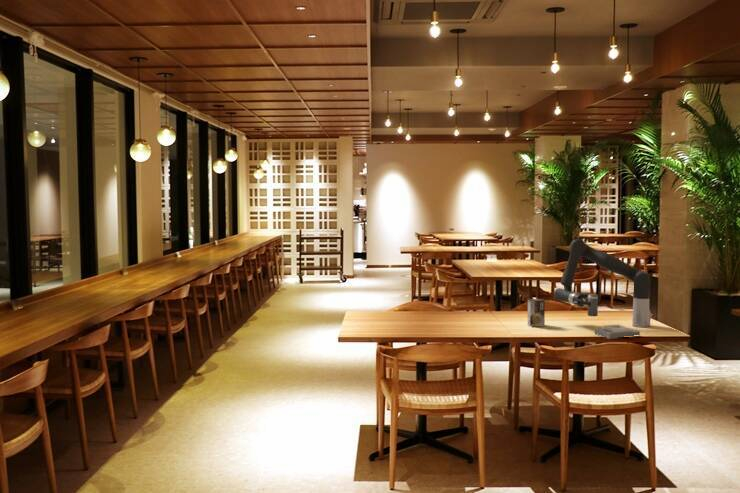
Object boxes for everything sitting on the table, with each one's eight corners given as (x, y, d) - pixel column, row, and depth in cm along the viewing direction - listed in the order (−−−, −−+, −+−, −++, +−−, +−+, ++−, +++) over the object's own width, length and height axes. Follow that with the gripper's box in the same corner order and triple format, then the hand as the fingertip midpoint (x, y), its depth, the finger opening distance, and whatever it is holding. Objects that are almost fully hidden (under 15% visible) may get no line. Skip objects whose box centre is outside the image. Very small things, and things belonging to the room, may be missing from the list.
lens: (593, 314, 403) (594, 293, 401) (599, 315, 397) (600, 295, 396) (585, 314, 401) (586, 294, 400) (591, 316, 396) (591, 295, 395)
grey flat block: (623, 331, 405) (624, 323, 405) (639, 336, 392) (639, 327, 391) (594, 333, 400) (594, 325, 399) (609, 338, 386) (609, 330, 386)
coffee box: (541, 324, 427) (542, 298, 425) (544, 326, 420) (545, 300, 419) (527, 324, 427) (527, 298, 425) (529, 326, 420) (530, 300, 419)
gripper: (567, 293, 411) (583, 298, 395) (588, 292, 415) (605, 296, 399) (567, 306, 411) (583, 311, 395) (588, 304, 416) (605, 309, 399)
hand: (594, 303), depth 397 cm, fingers closed on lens, 5 cm apart
